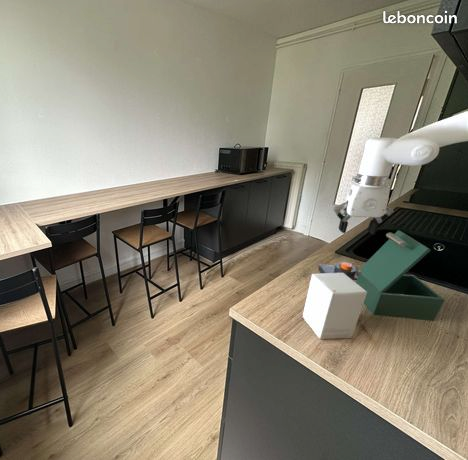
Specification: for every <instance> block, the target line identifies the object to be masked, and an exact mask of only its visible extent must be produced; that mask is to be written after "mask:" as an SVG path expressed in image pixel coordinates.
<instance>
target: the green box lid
mask: <svg viewBox="0 0 468 460" xmlns="http://www.w3.org/2000/svg"><path fill="white" fill-rule="evenodd" d="M385 237H386V238H387V239H388V240H387V241H385V243H384V244H383V245H382V246H380V248H379V249H378V250H377V251H376V252H375V253H374V254H373V255H372V256H371V257H370V258H369V259H368V260H367V261H366V262H365V263H364V264H363V265H362V266H361V267H360V268H359V272H360V271H361V272H362V273H363V274H364V275H365V276H366V277H367V279H368V280H369V281H370V282H371V283H372V284H373V285H374V286H375V287H376V288H377V289H378V290H379V291H380V292H381V293H384V292H385V291H386V290H387V289H388V288H389V287H390V286H392V285H393V284H394V283H395V282H396V281H397V280H398V279H399V278H400V277H402V276H403V275H404V274H405V275H406V274H407V272H408V271H409V270H411V269H412V268H413V267H414V266H415V265H417V263H419V262H420V261H421V260H422V259H423V258H424V257H425V256H427V254H429V253H430V252H431V251H432V250H431V249H430V248H429V247H427V246H426V245H424V244H422V243H420V242H419V241H417V240H415V239H414V238H412V237H411V236H409V235H408V234H406V233H405V232H403V231H401V230H399V229H398V230H397V231H396V232H395V233H393V232H387V233H386V234H385Z"/></svg>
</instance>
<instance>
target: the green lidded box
mask: <svg viewBox="0 0 468 460" xmlns="http://www.w3.org/2000/svg"><path fill="white" fill-rule="evenodd" d="M357 277H358V279H357V280H356V282H355V283H356V284H358V285H359V286H360V287H362V288H363V289H364V290H365V291H367V295H366V298H365V301H364V303H363V305H365V306H366V308H367V309H368V311H369V312H370V313H371V314H372V315H373V316H380V317H389V318H390V317H391V318H401V319H409V320H410V319H411V320H421V321H429V322H430V321H431V322H434V321H436V319H437V317H438V315H439V313H440V310H441V309H442V307H443V304H444V302H445V298H443V297H442V296H441V295H440V294H439V293H438V292H436V291H435V290H434V289H433V288H431V287H430V286H429V285H428V284H426V283H425V282H424V281H422V280H421V279H420V278H418V277H417V275H414V274H406V273H405V274H404V275H403V276H402V277H400V278H399V279H398V280H397V281H396V282H395V283H394V284H393V285H392V286H390V287H389V288H388V289H387V290H386V291H385V292H384V293H381V292H380V291H379V290H378V289H377V288H376V287H375V286H374V285H373V284H372V283H371V282H370V281H369V280H368V279H367V277H366V276H365V275H364V274H363V273H362V272H361V271H360V270H359V273H358V275H357Z"/></svg>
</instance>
